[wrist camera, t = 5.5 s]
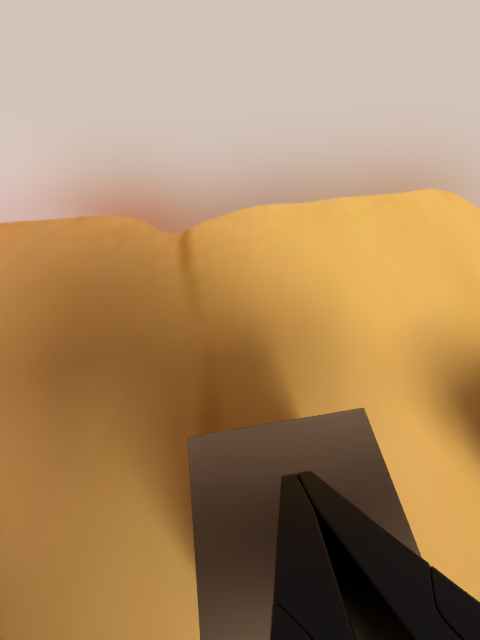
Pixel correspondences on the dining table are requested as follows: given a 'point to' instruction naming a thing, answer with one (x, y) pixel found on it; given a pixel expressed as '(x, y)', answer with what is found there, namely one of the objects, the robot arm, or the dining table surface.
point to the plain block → (273, 507)
